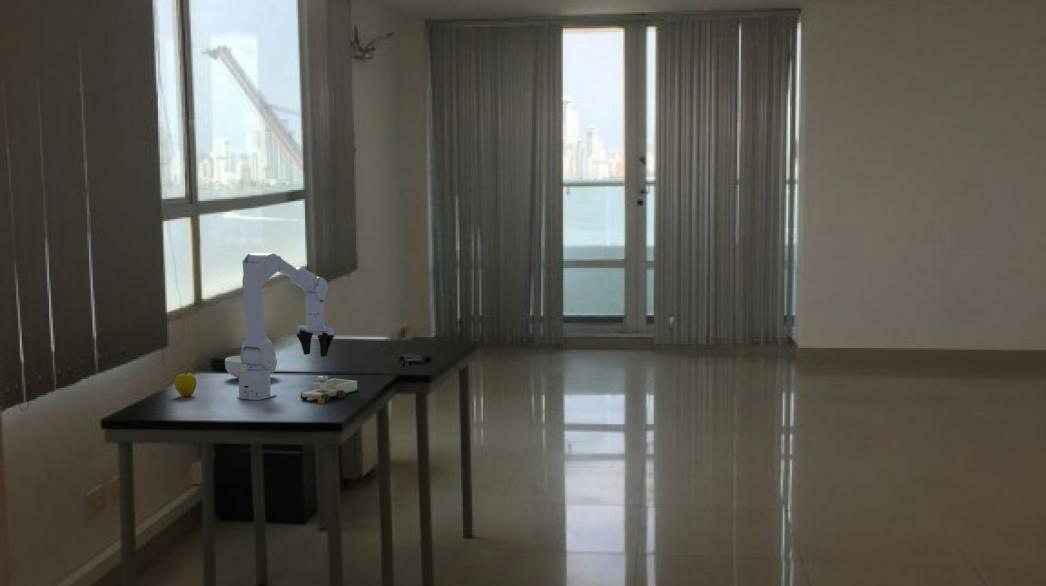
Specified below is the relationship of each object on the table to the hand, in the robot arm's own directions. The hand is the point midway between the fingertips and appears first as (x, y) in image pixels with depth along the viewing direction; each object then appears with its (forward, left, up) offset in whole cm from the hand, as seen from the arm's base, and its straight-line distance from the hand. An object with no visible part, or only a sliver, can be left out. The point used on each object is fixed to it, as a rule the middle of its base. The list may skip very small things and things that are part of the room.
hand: (315, 355), depth 381 cm
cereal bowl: (0, +27, -10) cm, 29 cm away
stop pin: (-19, -17, -10) cm, 27 cm away
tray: (-6, -12, -10) cm, 17 cm away
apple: (-36, +22, -10) cm, 43 cm away
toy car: (-19, -17, -10) cm, 27 cm away
